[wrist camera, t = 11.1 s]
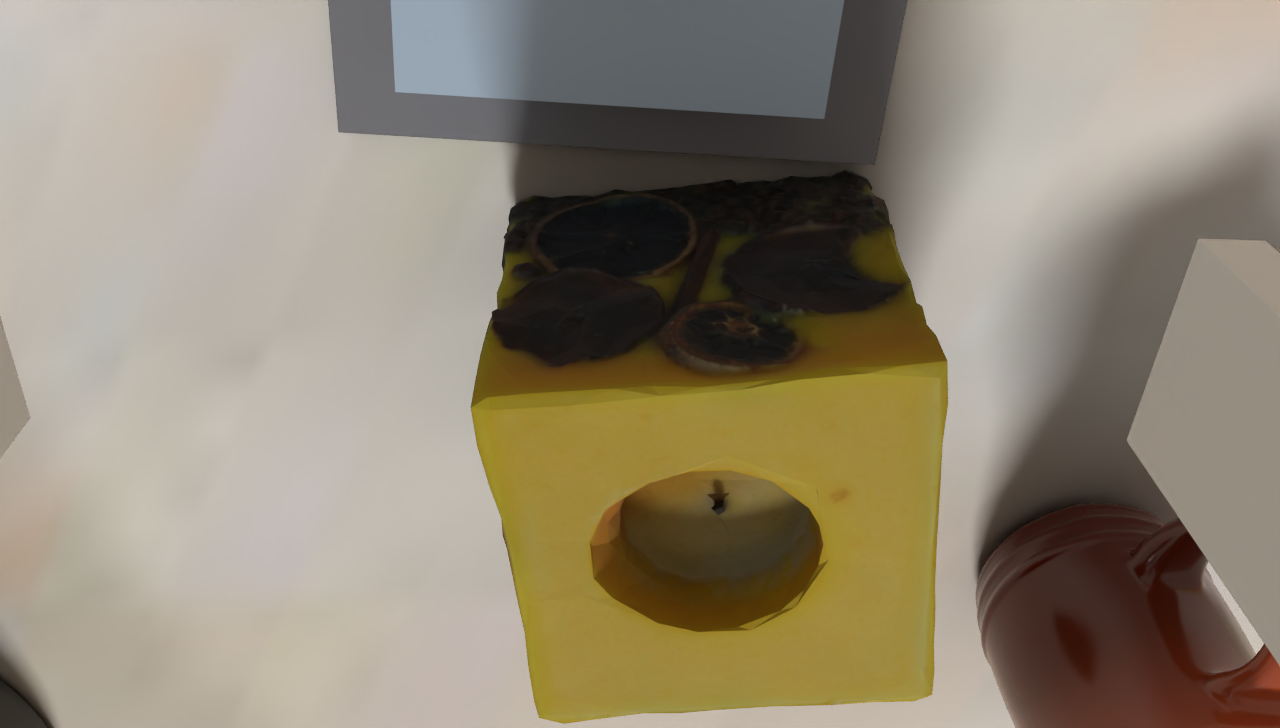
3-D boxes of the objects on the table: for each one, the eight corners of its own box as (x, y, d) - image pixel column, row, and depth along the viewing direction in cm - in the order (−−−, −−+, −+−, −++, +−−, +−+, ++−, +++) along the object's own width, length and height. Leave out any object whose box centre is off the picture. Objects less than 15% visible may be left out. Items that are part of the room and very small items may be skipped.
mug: (1134, 670, 41) (1272, 941, 33) (910, 641, 40) (991, 914, 31) (1299, 411, 35) (1524, 663, 26) (1038, 368, 34) (1183, 617, 25)
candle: (866, 456, 36) (944, 707, 27) (553, 482, 36) (535, 738, 27) (874, 159, 30) (975, 359, 22) (504, 193, 30) (462, 403, 22)
